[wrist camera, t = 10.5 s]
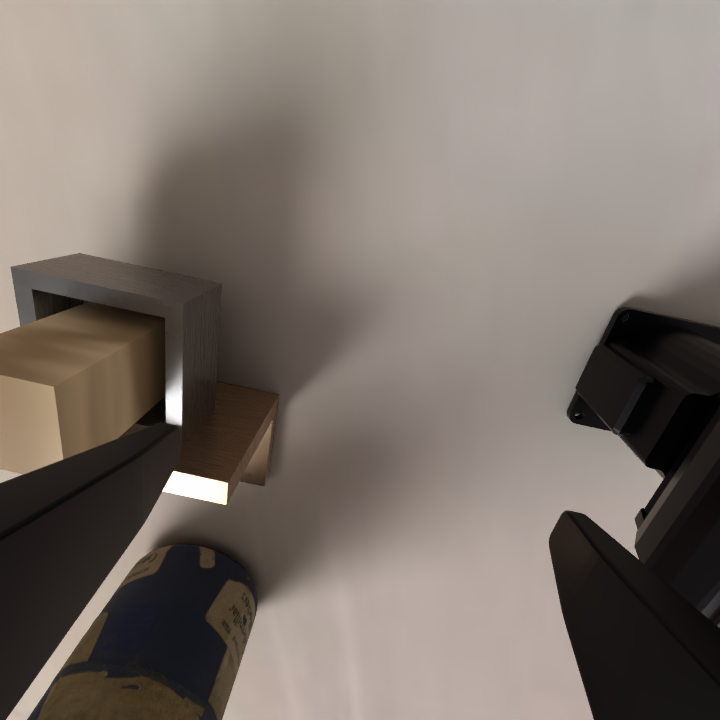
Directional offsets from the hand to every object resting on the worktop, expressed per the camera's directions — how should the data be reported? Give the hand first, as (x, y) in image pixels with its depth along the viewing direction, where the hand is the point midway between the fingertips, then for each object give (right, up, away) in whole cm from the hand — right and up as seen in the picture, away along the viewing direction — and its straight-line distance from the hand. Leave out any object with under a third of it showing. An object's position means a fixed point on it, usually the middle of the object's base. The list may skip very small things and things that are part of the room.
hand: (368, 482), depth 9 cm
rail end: (-10, +4, +9) cm, 14 cm away
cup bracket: (-11, +2, +14) cm, 18 cm away
